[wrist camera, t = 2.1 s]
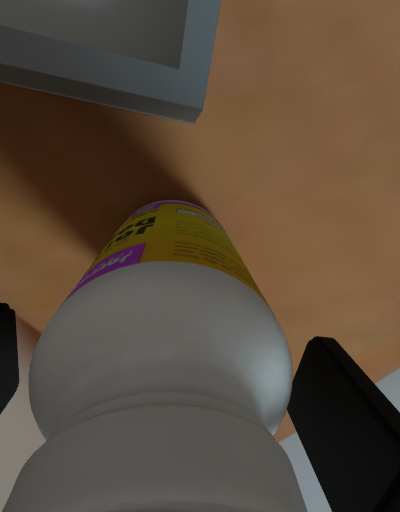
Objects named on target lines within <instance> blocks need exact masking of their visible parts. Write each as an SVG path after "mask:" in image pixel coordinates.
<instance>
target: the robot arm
mask: <svg viewBox="0 0 400 512" xmlns="http://www.w3.org/2000/svg"><path fill="white" fill-rule="evenodd" d="M18 384H19V368H18V351H17V335H16V317H15V311H14V310H13V309H10V307H9V305H8V304H6V303H0V414H1V413H2V411H3V410H4V408H5V407H6V405H7V404H8V402H9V401H10V400H11V398H12V397H13V395H14V393H15V392H16V390H17V387H18ZM287 411H288V413H289V415H290V418H291V420H292V422H293V424H294V427H295V429H296V431H297V433H298V435H299V438H300V440H301V442H302V444H303V447H304V449H305V451H306V454H307V456H308V458H309V460H310V462H311V465H312V467H313V469H314V472H315V474H316V476H317V478H318V481H319V483H320V485H321V487H322V489H323V492H324V494H325V496H326V499H327V501H328V503H329V505H330V508H331V510H332V512H400V412H399V411H398V410H397V409H396V408H395V407H394V406H393V404H392V403H391V402H390V401H389V400H388V399H387V398H386V397H385V395H384V394H383V393H382V392H381V391H380V390H379V389H378V387H377V386H376V385H375V384H374V383H373V382H372V381H371V380H370V378H369V377H368V376H367V375H366V374H365V373H364V372H363V371H362V369H361V368H360V367H359V366H358V365H357V364H356V363H355V361H354V360H353V359H352V358H351V357H350V356H349V355H348V354H347V352H346V351H345V350H344V349H343V348H342V347H341V346H340V345H339V343H338V342H337V341H336V340H335V339H333V338H328V337H319V336H316V337H314V338H313V339H312V340H310V341H309V342H308V344H307V346H306V349H305V351H304V354H303V356H302V359H301V361H300V364H299V367H298V369H297V372H296V374H295V377H294V380H293V382H292V391H291V395H290V400H289V403H288V406H287Z"/></svg>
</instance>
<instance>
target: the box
mask: <svg viewBox="0 0 400 512" xmlns="http://www.w3.org/2000/svg"><path fill="white" fill-rule="evenodd" d="M220 5H221V0H0V83H4V84H8V85H13V86H17V87H22V88H27V89H31V90H36V91H40V92H45V93H50V94H54V95H59V96H63V97H68V98H73V99H77V100H82V101H86V102H91V103H96V104H100V105H105V106H109V107H114V108H119V109H123V110H128V111H132V112H137V113H142V114H146V115H151V116H155V117H160V118H165V119H169V120H174V121H178V122H183V123H188V124H192V125H194V123H195V121H196V120H197V118H198V117H199V115H200V113H201V112H202V110H203V106H204V100H205V94H206V88H207V82H208V76H209V70H210V64H211V58H212V52H213V46H214V40H215V34H216V28H217V22H218V16H219V11H220Z"/></svg>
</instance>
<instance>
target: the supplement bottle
mask: <svg viewBox="0 0 400 512" xmlns="http://www.w3.org/2000/svg"><path fill="white" fill-rule="evenodd" d="M292 378H293V369H292V360H291V354H290V350H289V346H288V343H287V340H286V337H285V335H284V333H283V330H282V328H281V326H280V324H279V323H278V321H277V319H276V317H275V315H274V313H273V312H272V310H271V308H270V307H269V305H268V303H267V302H266V300H265V298H264V297H263V295H262V293H261V292H260V290H259V288H258V287H257V285H256V283H255V282H254V280H253V278H252V276H251V275H250V273H249V271H248V269H247V267H246V266H245V264H244V262H243V261H242V259H241V257H240V255H239V254H238V252H237V250H236V249H235V247H234V245H233V244H232V242H231V240H230V238H229V237H228V235H227V233H226V232H225V230H224V228H223V227H222V225H221V224H220V223H219V221H218V220H217V219H216V218H215V217H214V216H213V215H211V214H210V213H209V212H207V211H206V210H205V209H203V208H201V207H199V206H197V205H195V204H192V203H189V202H185V201H179V200H163V201H158V202H153V203H151V204H148V205H146V206H144V207H142V208H140V209H138V210H137V211H135V212H134V213H133V214H132V215H130V216H129V217H128V219H127V220H126V221H125V222H124V223H123V224H122V225H121V227H120V228H119V229H118V230H117V232H116V233H115V234H114V236H113V237H112V238H111V240H110V241H109V242H108V244H107V245H106V246H105V248H104V249H103V250H102V251H101V253H100V254H99V256H98V257H97V258H96V260H95V261H94V262H93V263H92V265H91V266H90V268H89V269H88V270H87V272H86V273H85V275H84V276H83V278H82V279H81V280H80V281H79V283H78V284H77V285H76V287H75V288H74V289H73V291H72V292H71V293H70V295H69V296H68V297H67V299H66V300H65V301H64V302H63V304H62V305H61V306H60V308H59V309H58V310H57V312H56V313H55V315H54V316H53V317H52V319H51V320H50V322H49V323H48V325H47V326H46V328H45V329H44V331H43V333H42V335H41V337H40V339H39V341H38V343H37V345H36V348H35V350H34V354H33V357H32V361H31V365H30V371H29V396H30V404H31V409H32V412H33V415H34V418H35V420H36V422H37V424H38V427H39V429H40V431H41V433H42V434H43V436H44V438H45V439H46V442H45V443H44V444H43V445H42V446H41V447H40V448H39V449H38V450H36V451H35V452H34V453H33V455H32V456H31V457H30V458H29V459H28V460H27V462H26V463H25V465H24V466H23V468H22V469H21V471H20V474H19V476H18V478H17V480H16V482H15V485H14V487H13V490H12V492H11V494H10V496H9V498H8V500H7V503H6V505H5V507H4V509H3V511H2V512H307V509H306V506H305V503H304V500H303V497H302V494H301V491H300V488H299V485H298V482H297V479H296V476H295V473H294V471H293V467H292V464H291V462H290V460H289V458H288V456H287V454H286V452H285V451H284V449H283V448H282V447H281V446H280V445H279V443H278V442H277V441H276V440H275V438H274V437H273V435H274V433H275V432H276V430H277V429H278V427H279V425H280V423H281V421H282V419H283V417H284V415H285V413H286V409H287V406H288V403H289V400H290V395H291V391H292Z"/></svg>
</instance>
